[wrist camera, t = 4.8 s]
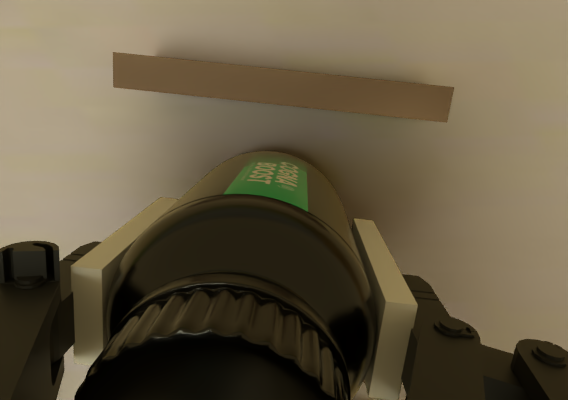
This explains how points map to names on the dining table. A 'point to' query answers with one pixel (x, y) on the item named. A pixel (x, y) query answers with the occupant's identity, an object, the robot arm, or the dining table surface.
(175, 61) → the walnut cradle
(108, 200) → the dining table surface
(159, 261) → the supplement bottle
